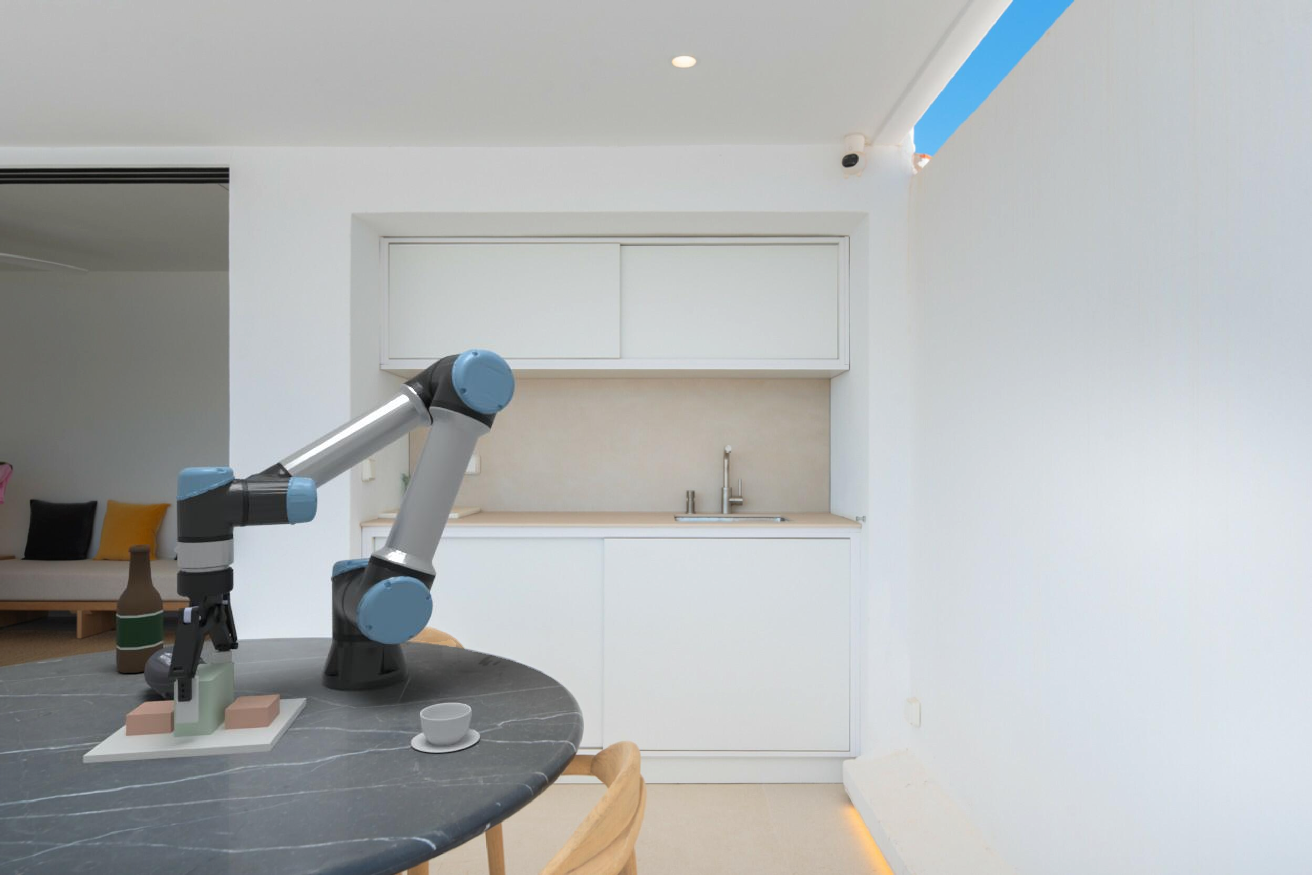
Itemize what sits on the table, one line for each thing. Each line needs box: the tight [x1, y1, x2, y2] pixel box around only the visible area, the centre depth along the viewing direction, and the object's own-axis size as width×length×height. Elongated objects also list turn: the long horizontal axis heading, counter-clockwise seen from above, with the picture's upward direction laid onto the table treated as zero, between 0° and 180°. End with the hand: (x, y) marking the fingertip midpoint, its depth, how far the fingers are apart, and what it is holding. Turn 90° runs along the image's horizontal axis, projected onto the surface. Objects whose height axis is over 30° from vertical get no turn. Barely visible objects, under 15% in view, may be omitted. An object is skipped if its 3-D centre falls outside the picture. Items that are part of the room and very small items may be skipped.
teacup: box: [410, 702, 481, 754], centre depth 116 cm, size 10×10×5 cm
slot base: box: [82, 693, 307, 764], centre depth 120 cm, size 24×20×4 cm
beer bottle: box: [115, 544, 164, 674], centre depth 153 cm, size 8×8×24 cm
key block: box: [174, 661, 235, 737], centre depth 120 cm, size 10×5×8 cm, turn 10°
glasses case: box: [143, 645, 208, 701], centre depth 136 cm, size 18×10×8 cm, turn 47°
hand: (205, 706), depth 120 cm, fingers open, 13 cm apart
